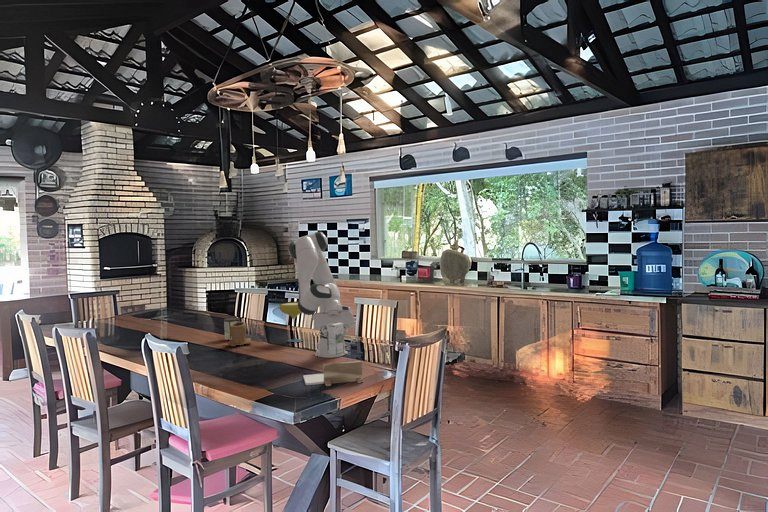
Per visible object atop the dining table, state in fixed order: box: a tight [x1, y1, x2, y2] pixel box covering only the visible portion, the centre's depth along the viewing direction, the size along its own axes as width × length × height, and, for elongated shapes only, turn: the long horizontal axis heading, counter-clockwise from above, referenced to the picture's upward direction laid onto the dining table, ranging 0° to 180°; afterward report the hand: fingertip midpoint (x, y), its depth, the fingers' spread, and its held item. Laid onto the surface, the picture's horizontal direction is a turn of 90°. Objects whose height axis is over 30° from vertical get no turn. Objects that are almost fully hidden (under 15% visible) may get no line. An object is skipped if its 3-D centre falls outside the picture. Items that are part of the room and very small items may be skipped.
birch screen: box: [322, 360, 364, 387], centre depth 244 cm, size 5×18×9 cm, turn 103°
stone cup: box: [227, 321, 252, 347], centre depth 332 cm, size 15×12×15 cm
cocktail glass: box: [278, 300, 304, 343], centre depth 339 cm, size 18×18×25 cm
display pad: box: [302, 373, 325, 386], centre depth 250 cm, size 14×10×1 cm
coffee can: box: [223, 317, 241, 340], centre depth 351 cm, size 10×10×14 cm
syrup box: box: [327, 322, 345, 355], centre depth 249 cm, size 6×6×14 cm
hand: (335, 335), depth 249 cm, fingers closed on syrup box, 8 cm apart
